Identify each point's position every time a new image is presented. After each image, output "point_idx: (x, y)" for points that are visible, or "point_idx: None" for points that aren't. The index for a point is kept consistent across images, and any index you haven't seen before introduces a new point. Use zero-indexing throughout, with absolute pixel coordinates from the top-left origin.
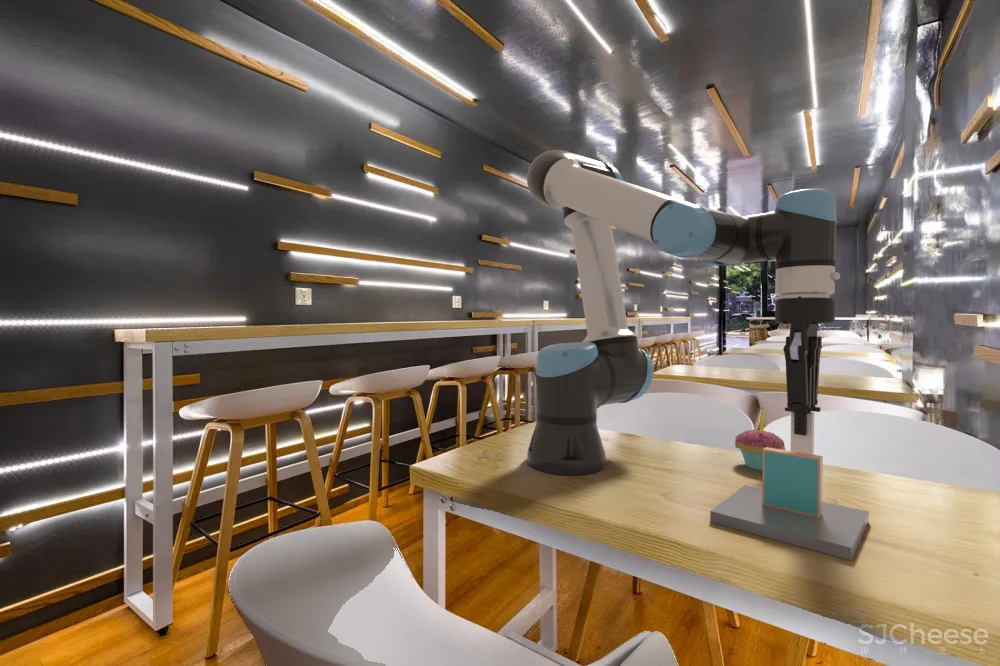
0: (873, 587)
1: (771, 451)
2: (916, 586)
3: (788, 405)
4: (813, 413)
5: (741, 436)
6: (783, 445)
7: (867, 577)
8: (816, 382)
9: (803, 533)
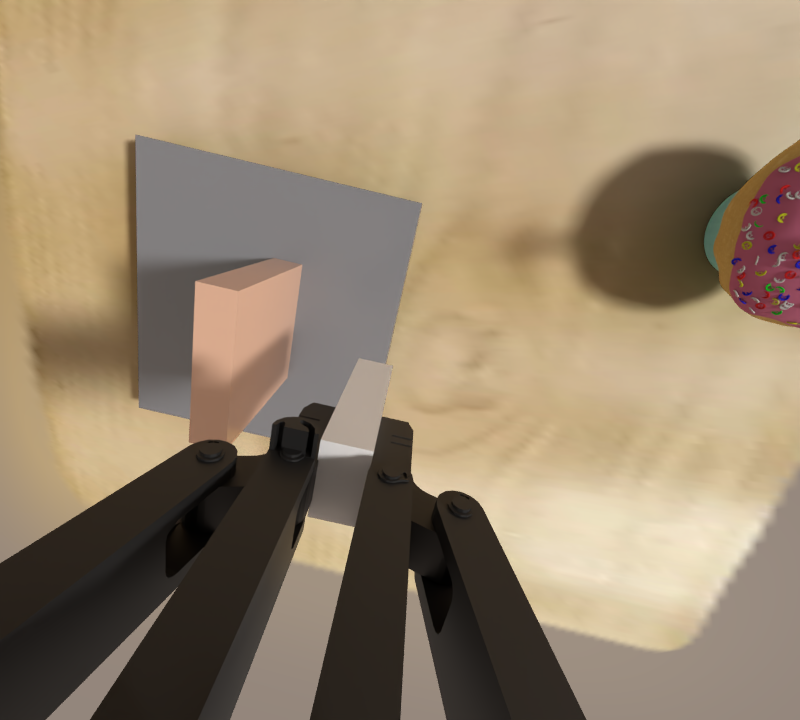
0: (80, 412)
1: (196, 309)
2: (128, 461)
3: (184, 451)
4: (340, 521)
5: None
6: (791, 324)
7: (108, 410)
8: (444, 705)
9: (148, 339)
